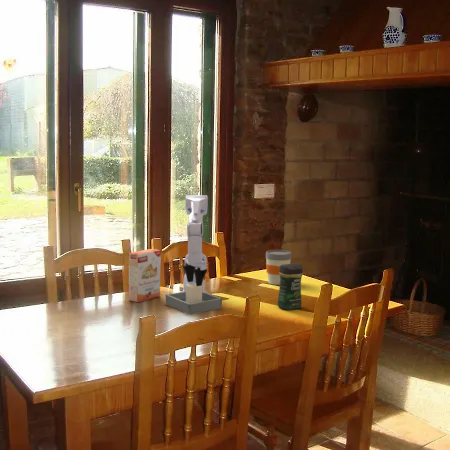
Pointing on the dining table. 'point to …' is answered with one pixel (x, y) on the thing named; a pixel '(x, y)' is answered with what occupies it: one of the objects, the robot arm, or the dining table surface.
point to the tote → (180, 303)
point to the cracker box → (144, 275)
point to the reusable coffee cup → (276, 264)
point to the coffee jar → (290, 286)
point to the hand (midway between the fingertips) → (194, 283)
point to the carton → (193, 293)
